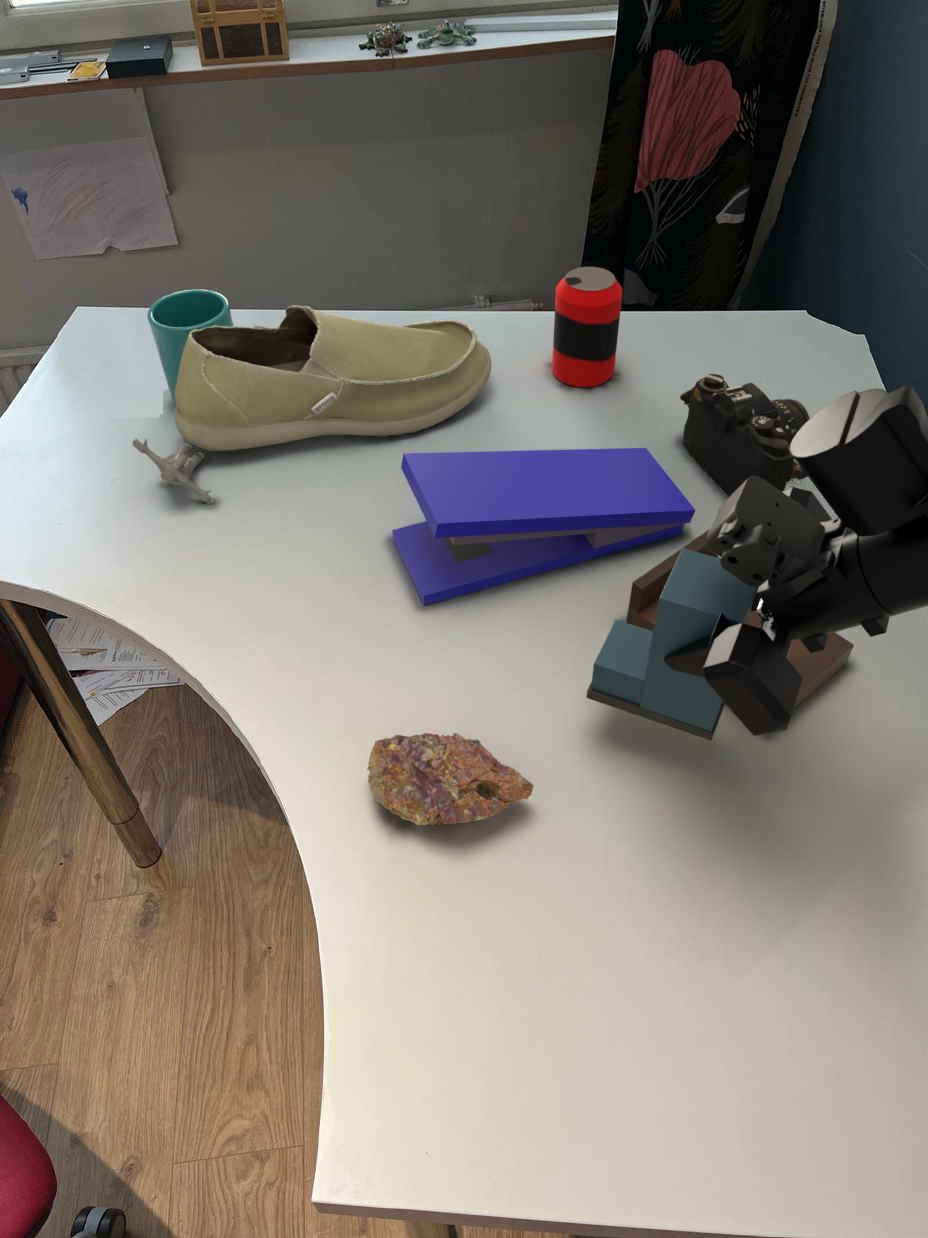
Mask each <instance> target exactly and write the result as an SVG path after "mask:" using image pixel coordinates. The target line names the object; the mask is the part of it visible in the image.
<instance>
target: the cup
mask: <svg viewBox="0 0 928 1238" xmlns="http://www.w3.org/2000/svg"><path fill="white" fill-rule="evenodd" d="M146 317H147V321H148V324H149V327H150V331H151V334H152V338H153V341H154V344H155V347H156V351H157V354H158V357H159V360H160V364H161V367H162V370H163V373H164V377H165V381H166V384H167V387H168V391H169V393H170V396H171V400H172V401H173V403H174V404H175V405H176V400H175V388H176V384H177V379H178V373H179V367H180V362H181V358H182V354H183V350H184V347H185V344H186V341H187V338H188V335H189V333H190V332H191V331H192V330H195V329H197V330H200V329H202V328H204V327H209V326H213V325H215V326H227V327H231V326H233V327H235V325H234V321H233V317H232V312H231V309H230V304H229V301H228V299H227V298H226V296H224V295H222V294H221V293H218V292H216V291H213V290H209V289H208V290H207V289H187V290H182V291H177V292H173V293H170V294H167V295H165V296H163V297H161V298H159V299H158V300H156V301H155V302H154V303H153V304H152V305H151V306H150V307H149V309H148V311H147V314H146Z"/></svg>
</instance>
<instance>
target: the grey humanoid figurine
mask: <svg viewBox="0 0 928 1238" xmlns="http://www.w3.org/2000/svg"><path fill="white" fill-rule="evenodd" d="M131 444H132V446H133V447H134V448H135V449H136V450H137V451H138V452H140V453H141V454H145V455H146V456H147V457H148V458H149V459H150V460H151V461H152V462H153V463H154V464H155V465H156V466H157V468H158V470H159V472H160V478H161V479H162V480H163V481H164V482H165V483H167V484H173V485H174V484H175V485H179V486H182V487H184V488H186V489H187V490H189V491H191V492H193V493H194V494H196V495H197V497H198V498H199V499H200V500H201V501H203V502H204V503H207V504H208V505H210V504H213V503H214V500H215V498H213V497H211V495H209V493H211V492H212V489H208V490H204V489H201V488H200V487H199V486H197V484H195V482H194V481H193V480H192V479H190V477H191V475H192V473H193V470H194V468H195V467H196V466H197V465H199V464H201V463H202V461H203V460H204V456H205V455H204V453H203V452H202V451H198V452H195V453H194V454H193V455H192V457H187V455H188V454H189V453H190V452H191V450H192V444H191V443H190V442H188V441H186V442H184V443H183V444H181V446H180V448H179V449H178V450H177V451H175V452H174V453H171V454H169V455H167V456H166V457H165V458H164V457H161V456H159V455H158V454H156V453H155V452H154V451H152V449H150V448H149V446H148V439H147V438H145V439H144V442H143V443H142V442H141V441H140V440H138V438H135V439H133V440H132V442H131Z"/></svg>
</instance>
